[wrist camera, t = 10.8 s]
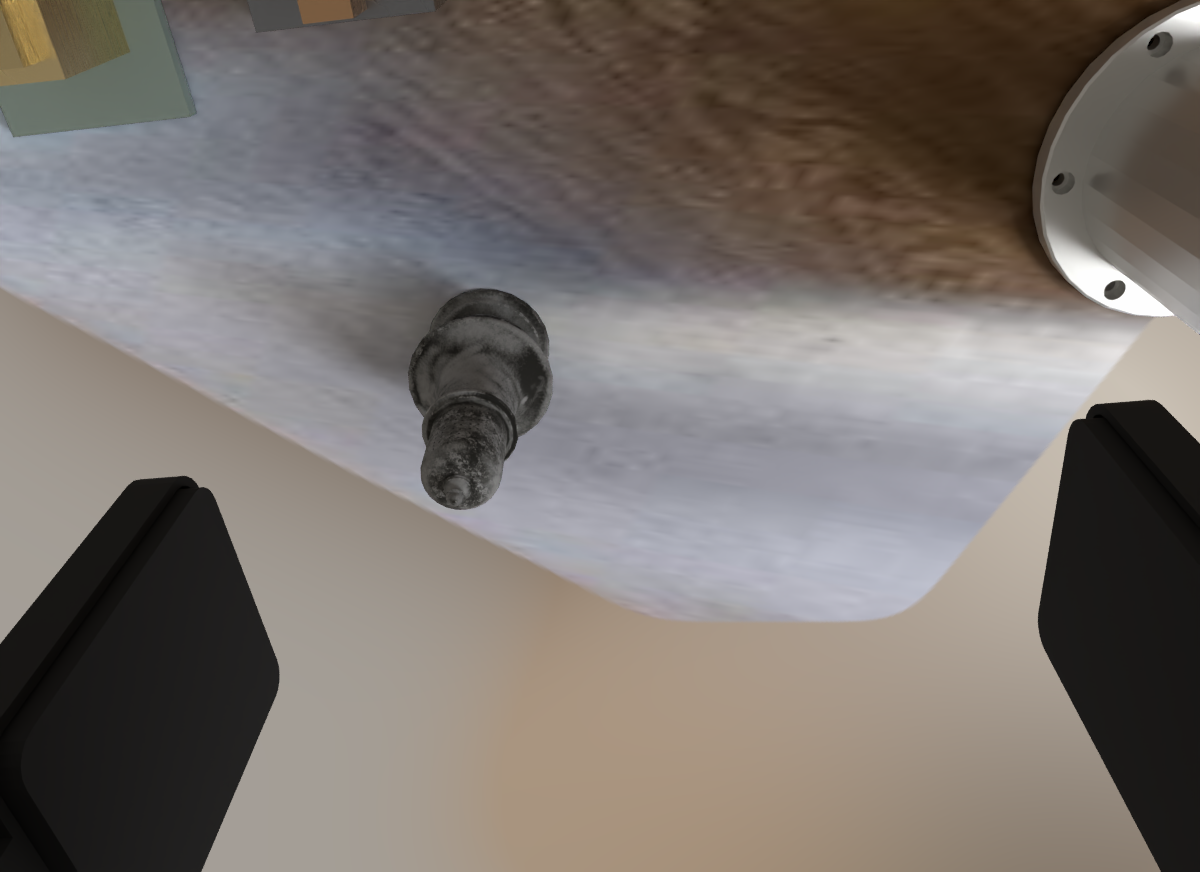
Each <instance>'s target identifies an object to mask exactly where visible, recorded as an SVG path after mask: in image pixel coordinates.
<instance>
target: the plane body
mask: <svg viewBox="0 0 1200 872" xmlns="http://www.w3.org/2000/svg"><path fill="white" fill-rule="evenodd" d="M247 1H248V5H249V9H250V12H251V16H252V19H253V23H254V27H255V30H256V33H257V32H266V31H274V30H282V29H291V28H299V27H307V26H316V25H324V24H333V23H341V22H349V21H358V20H366V19H374V18H383V17H391V16H399V15H408V14H416V13H425V12H433V11H436V10H437V9H438V8H439V7H440V6H441V5H442V4H443V3H444V2H445V1H446V0H247Z"/></svg>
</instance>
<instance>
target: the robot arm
mask: <svg viewBox="0 0 1200 872" xmlns="http://www.w3.org/2000/svg"><path fill="white" fill-rule="evenodd" d="M1153 36H1154V41H1153V43H1152V44H1151V45H1150V46H1149V47H1147V46H1148V43H1149V41H1150V39H1151V38H1152V37H1153ZM1058 174H1060V176H1059V178H1058V180H1057V181H1055V182H1053V180H1054V178H1055V177H1056V176H1057V175H1058ZM1052 182H1053V183H1052ZM1032 189H1033V217H1034V221H1035V225H1036V229H1037V233H1038V237H1039V241H1040V243H1041V245H1042V247H1043V249H1044V251H1045V253H1046V255H1047V257H1048V259H1049V261H1050V262H1051V264H1052V265H1053V266H1054V267H1055V268H1056V269H1057V271H1058V272H1059V273H1060V274H1061V275H1062V276H1063V277H1064V279H1065V280H1066V281H1067V282H1068V283H1070V284H1071V285H1072V286H1073V287H1074V288H1076V289H1077V290H1078V291H1079V292H1080V293H1082V294H1083V295H1084V296H1085V297H1087V298H1089V299H1090V300H1092V301H1094V302H1096V303H1097V304H1099V305H1101V306H1103V307H1105V308H1108V309H1112V310H1115V311H1119V312H1123V313H1126V314H1130V315H1136V316H1149V317H1168V316H1177V317H1178V318H1179V319H1180V320H1182V321H1183V322H1184V323H1185V324H1187V325H1188V326H1189V327H1191V328H1192V329H1193V330H1194V331H1195V332H1197V333H1198V334H1199V335H1200V0H1181V1H1179V2H1177V3H1175V4H1173V5H1171V6H1169V7H1167V8H1165V9H1163V10H1161V11H1159V12H1157V13H1155V14H1153V15H1150V16H1148V17H1147V18H1146V19H1144V20H1143V21H1141V22H1140V23H1139V24H1137V25H1136V26H1134V27H1133V28H1131V29H1130V30H1129V31H1127V32H1126V33H1124V34H1123V35H1122V36H1120V37H1119V38H1117V39H1116V40H1115V41H1114V42H1113V43H1112V44H1111V45H1110V46H1109V47H1108V48H1107V49H1106V50H1105V51H1104V52H1102V53H1101V54H1100V55H1099V56H1098V57H1097V58H1096V59H1095V60H1094V61H1093V62H1092V63H1091V64H1090V65H1089V66H1088V67H1087V69H1086V70H1085V71H1084V72H1083V74H1082V75H1081V76H1080V78H1079V79H1078V80H1077V81H1076V83H1075V84H1074V85H1073V87H1072V88H1071V89H1070V90H1069V92H1068V93H1067V94H1066V96H1065V98H1064V100H1063V101H1062V103H1061V105H1060V107H1059V108H1058V110H1057V112H1056V114H1055V116H1054V117H1053V119H1052V121H1051V123H1050V124H1049V127H1048V130H1047V132H1046V135H1045V138H1044V140H1043V143H1042V146H1041V149H1040V151H1039V154H1038V158H1037V163H1036V169H1035V175H1034V180H1033V186H1032ZM1038 628H1039V634H1040V638H1041V642H1042V644H1043V647H1044V649H1045V651H1046V653H1047V655H1048V657H1049V659H1050V661H1051V663H1052V665H1053V667H1054V669H1055V670H1056V672H1057V674H1058V676H1059V678H1060V680H1061V682H1062V684H1063V686H1064V688H1065V690H1066V691H1067V693H1068V695H1069V697H1070V699H1071V701H1072V703H1073V705H1074V707H1075V709H1076V710H1077V712H1078V714H1079V716H1080V718H1081V720H1082V722H1083V724H1084V725H1085V728H1086V729H1087V731H1088V733H1089V735H1090V737H1091V739H1092V741H1093V743H1094V745H1095V746H1096V749H1097V750H1098V752H1099V754H1100V755H1101V758H1102V760H1103V762H1104V764H1105V765H1106V768H1107V769H1108V771H1109V773H1110V775H1111V777H1112V779H1113V781H1114V783H1115V784H1116V786H1117V789H1118V790H1119V792H1120V794H1121V796H1122V798H1123V800H1124V802H1125V804H1126V806H1127V807H1128V809H1129V811H1130V813H1131V815H1132V817H1133V819H1134V821H1135V823H1136V825H1137V827H1138V829H1139V830H1140V832H1141V834H1142V836H1143V838H1144V840H1145V842H1146V844H1147V845H1148V848H1149V849H1150V851H1151V853H1152V855H1153V857H1154V859H1155V861H1156V863H1157V864H1158V867H1159V868H1160V870H1161V872H1200V444H1199V442H1198V441H1197V440H1196V439H1195V438H1194V437H1193V436H1192V435H1190V433H1189V432H1188V431H1187V430H1186V429H1185V428H1184V427H1183V426H1182V425H1181V424H1180V423H1179V422H1178V421H1177V420H1176V419H1175V418H1174V417H1173V416H1172V415H1171V414H1170V413H1169V412H1168V411H1167V410H1166V409H1165V408H1164V407H1163V406H1162V405H1161V404H1160V403H1158V402H1157V401H1155V400H1143V401H1130V402H1118V403H1105V404H1096V405H1094V406H1092V407H1091V408H1090V410H1089V411H1088V413H1087V415H1086V419H1077V420H1075V421H1073V423H1072V424H1071V426H1070V429H1069V433H1068V438H1067V444H1066V450H1065V456H1064V462H1063V468H1062V474H1061V480H1060V486H1059V492H1058V498H1057V504H1056V510H1055V516H1054V522H1053V528H1052V534H1051V540H1050V546H1049V552H1048V558H1047V564H1046V570H1045V576H1044V582H1043V588H1042V594H1041V601H1040V606H1039V613H1038ZM278 686H279V666H278V662H277V659H276V656H275V653H274V651H273V648H272V646H271V643H270V640H269V638H268V635H267V633H266V630H265V627H264V625H263V622H262V620H261V617H260V615H259V612H258V609H257V606H256V604H255V602H254V599H253V596H252V593H251V591H250V588H249V586H248V583H247V581H246V578H245V575H244V573H243V570H242V567H241V565H240V562H239V560H238V558H237V554H236V552H235V549H234V547H233V544H232V541H231V539H230V536H229V534H228V531H227V528H226V526H225V523H224V520H223V518H222V515H221V513H220V510H219V507H218V505H217V502H216V500H215V498H214V496H213V494H212V493H211V491H210V490H209V489H207V488H204V487H201V488H199V487H198V485H197V483H195V481H194V480H192V478H189V477H187V476H178V477H165V478H153V479H140V480H136V481H133V482H132V483H131V484H129V485H128V486H127V487H126V489H125V490H124V491H123V492H122V494H121V495H120V496H119V497H118V498H117V500H116V501H115V502H114V503H113V505H112V506H111V508H110V509H109V510H108V511H107V512H106V513H105V515H104V516H103V517H102V518H101V520H100V521H99V522H98V524H97V525H96V526H95V527H94V528H93V530H92V531H91V532H90V533H89V534H88V536H87V537H86V538H85V540H84V541H83V542H82V543H81V544H80V546H79V547H78V548H77V549H76V551H75V552H74V553H73V554H72V556H71V557H70V558H69V559H68V561H67V562H66V563H65V564H64V566H63V567H62V568H61V569H60V571H59V572H58V573H57V574H56V575H55V577H54V578H53V579H52V580H51V582H50V583H49V584H48V585H47V587H46V588H45V589H44V590H43V592H42V593H41V594H40V595H39V597H38V598H37V599H36V600H35V602H34V603H33V604H32V605H31V606H30V608H29V609H28V610H27V611H26V613H25V614H24V615H23V616H22V618H21V619H20V620H19V621H18V623H17V624H16V625H15V626H14V628H13V629H12V630H11V631H10V633H9V634H8V635H7V636H6V637H5V639H4V640H3V641H2V643H1V644H0V872H201V871H202V869H203V866H204V864H205V861H206V859H207V857H208V854H209V852H210V850H211V847H212V845H213V843H214V840H215V838H216V836H217V833H218V831H219V829H220V826H221V824H222V822H223V819H224V817H225V814H226V812H227V810H228V807H229V805H230V803H231V800H232V798H233V796H234V793H235V791H236V789H237V786H238V783H239V782H240V779H241V777H242V775H243V772H244V770H245V767H246V765H247V763H248V760H249V758H250V756H251V753H252V751H253V749H254V746H255V744H256V741H257V739H258V736H259V735H260V732H261V730H262V727H263V725H264V723H265V720H266V718H267V716H268V713H269V711H270V709H271V706H272V704H273V701H274V699H275V697H276V694H277V691H278Z"/></svg>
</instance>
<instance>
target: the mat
mask: <svg viewBox="0 0 1200 872" xmlns="http://www.w3.org/2000/svg"><path fill="white" fill-rule="evenodd" d="M113 2H114V5H115V8H116V11H117V14H118V17H119V20H120V23H121V26H122V29H123V32H124V35H125V38H126V41H127V44H128V47H129V50H130V52H129V53H127V54H124V55H122V56H120V57H117V58H115V59H112V60H110V61H108V62H105V63H103V64H101V65H98V66H96V67H94V68H91V69H89V70H86V71H84V72H82V73H79V74H77V75H75V76H72V77H70V78H68V79H64V80H55V81H46V82H36V83H27V84H18V85H8V86H0V107H1V109H2V112H3V114H4V116H5V119H6V121H7V124H8V126H9V128H10V131H11V133H12V135H13V137H20V136H28V135H37V134H46V133H54V132H63V131H72V130H80V129H89V128H98V127H106V126H115V125H124V124H132V123H141V122H150V121H158V120H167V119H176V118H185V117H191V116H193V115H194V114H196V110H195V107H194V103H193V100H192V97H191V94H190V91H189V88H188V85H187V81H186V78H185V75H184V72H183V69H182V66H181V63H180V60H179V56H178V53H177V50H176V47H175V44H174V41H173V38H172V34H171V31H170V28H169V25H168V22H167V19H166V16H165V13H164V9H163V6H162V3H161V0H113Z"/></svg>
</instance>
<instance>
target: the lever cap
mask: <svg viewBox="0 0 1200 872" xmlns="http://www.w3.org/2000/svg"><path fill="white" fill-rule="evenodd" d="M129 52H130V50H129V47H128V44H127V41H126V38H125V35H124V32H123V29H122V26H121V23H120V20H119V17H118V14H117V11H116V8H115V5H114V2H113V0H0V86H8V85H18V84H27V83H36V82H46V81H55V80H64V79H68V78H70V77H72V76H75V75H77V74H79V73H82V72H84V71H86V70H89V69H91V68H94V67H96V66H98V65H101V64H103V63H105V62H108V61H110V60H112V59H115V58H117V57H120V56H122V55H124V54H127V53H129Z"/></svg>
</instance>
